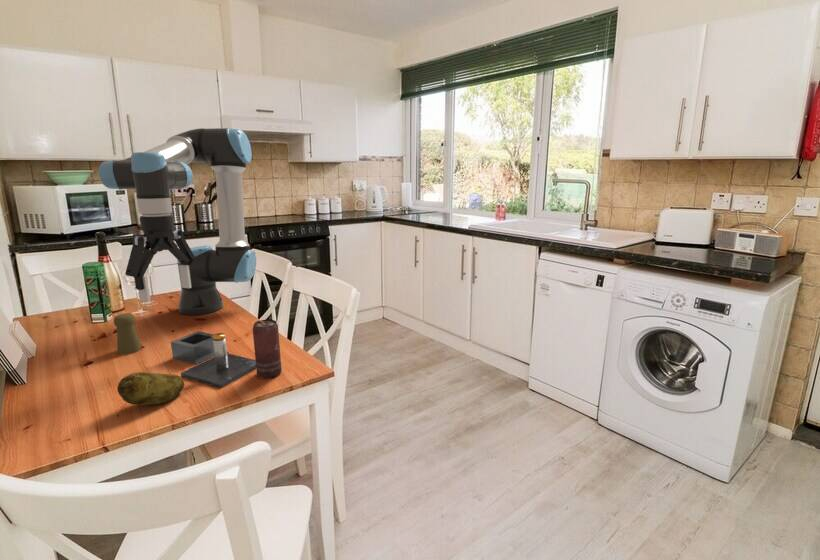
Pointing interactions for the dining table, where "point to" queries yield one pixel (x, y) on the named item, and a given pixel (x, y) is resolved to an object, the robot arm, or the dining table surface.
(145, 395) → the green avocado
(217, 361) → the post
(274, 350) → the can
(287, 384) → the dining table surface
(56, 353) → the dining table surface
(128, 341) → the cork
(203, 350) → the grey open square box
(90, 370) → the dining table surface
